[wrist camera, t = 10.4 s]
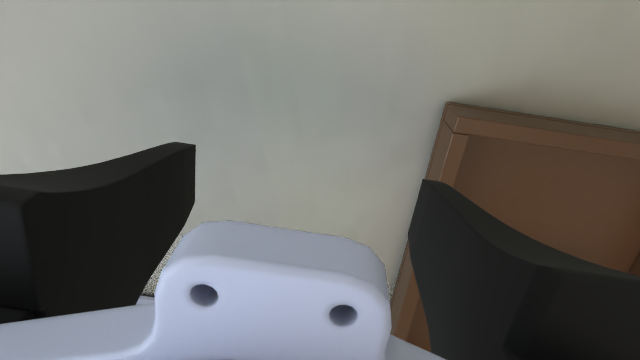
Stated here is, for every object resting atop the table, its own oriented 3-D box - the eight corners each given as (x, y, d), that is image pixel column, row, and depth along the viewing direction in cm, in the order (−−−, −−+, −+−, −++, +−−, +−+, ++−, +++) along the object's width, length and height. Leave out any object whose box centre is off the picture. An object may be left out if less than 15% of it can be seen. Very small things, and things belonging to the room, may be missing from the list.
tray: (566, 390, 30) (585, 424, 28) (373, 363, 30) (376, 395, 27) (709, 141, 22) (751, 160, 20) (445, 101, 22) (457, 116, 19)
